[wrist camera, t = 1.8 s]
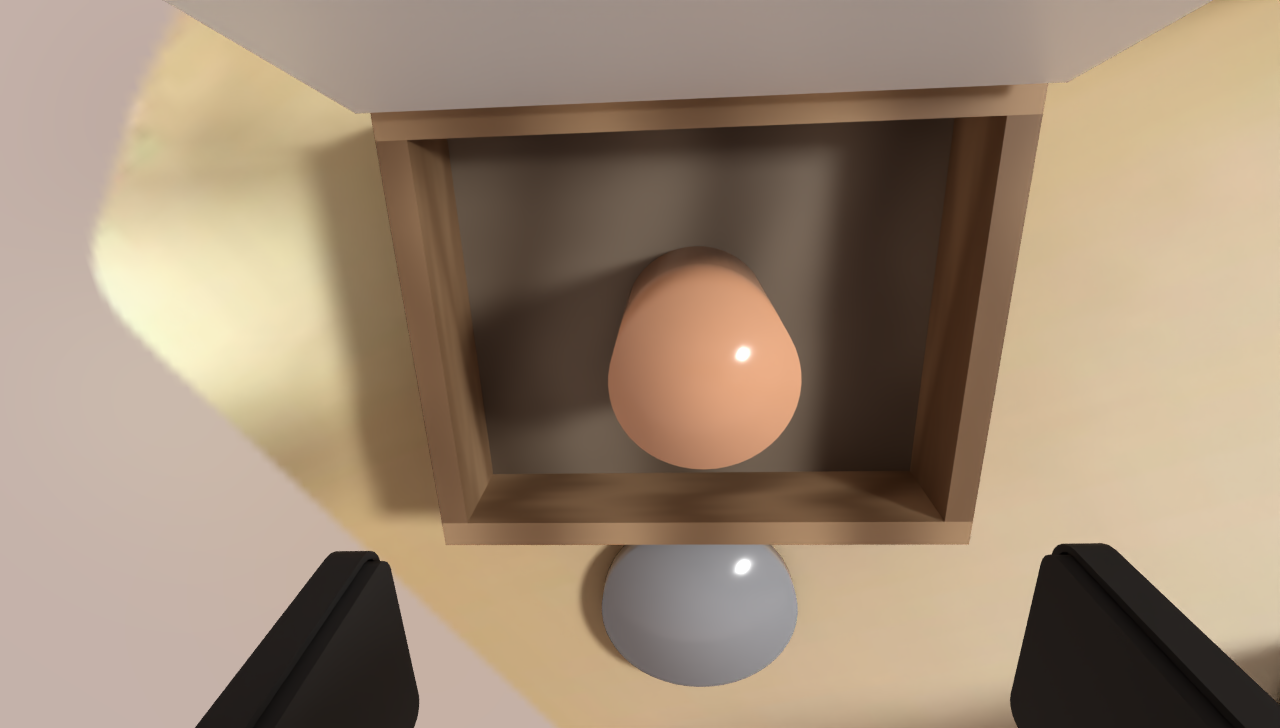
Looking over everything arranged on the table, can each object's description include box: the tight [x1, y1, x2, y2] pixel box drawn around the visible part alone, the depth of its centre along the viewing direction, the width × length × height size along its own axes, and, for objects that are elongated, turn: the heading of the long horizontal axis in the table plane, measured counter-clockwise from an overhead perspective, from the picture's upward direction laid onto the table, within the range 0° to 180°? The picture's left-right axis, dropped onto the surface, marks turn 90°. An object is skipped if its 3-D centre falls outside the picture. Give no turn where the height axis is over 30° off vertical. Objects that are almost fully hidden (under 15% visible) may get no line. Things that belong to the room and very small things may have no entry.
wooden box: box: [370, 83, 1048, 545], centre depth 23 cm, size 20×16×4 cm
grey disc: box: [602, 545, 798, 687], centre depth 30 cm, size 9×9×1 cm
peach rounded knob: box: [608, 246, 801, 469], centre depth 22 cm, size 6×6×7 cm
